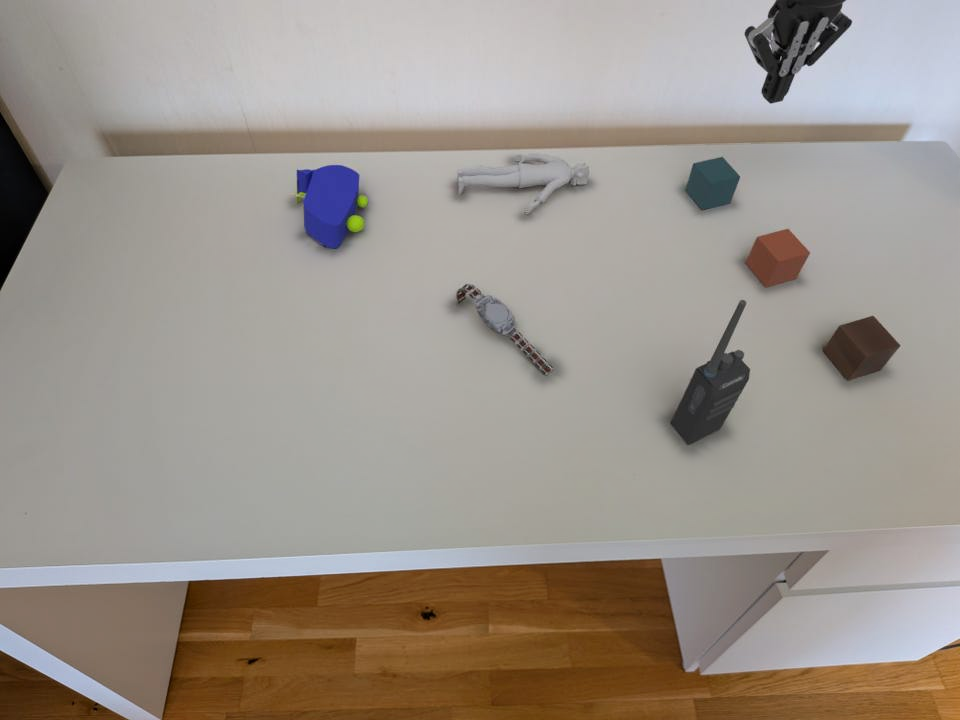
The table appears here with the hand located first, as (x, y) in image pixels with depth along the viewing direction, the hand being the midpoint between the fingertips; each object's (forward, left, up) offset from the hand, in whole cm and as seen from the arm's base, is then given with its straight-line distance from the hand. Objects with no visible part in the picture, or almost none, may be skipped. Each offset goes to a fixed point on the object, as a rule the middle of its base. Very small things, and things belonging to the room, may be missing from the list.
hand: (771, 98), depth 83 cm
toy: (+54, -12, -14) cm, 57 cm away
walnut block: (+4, +30, -14) cm, 33 cm away
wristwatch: (+40, +14, -14) cm, 45 cm away
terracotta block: (+4, +15, -14) cm, 21 cm away
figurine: (+28, -10, -14) cm, 33 cm away
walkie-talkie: (+25, +32, -14) cm, 43 cm away
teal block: (+5, 0, -14) cm, 15 cm away
